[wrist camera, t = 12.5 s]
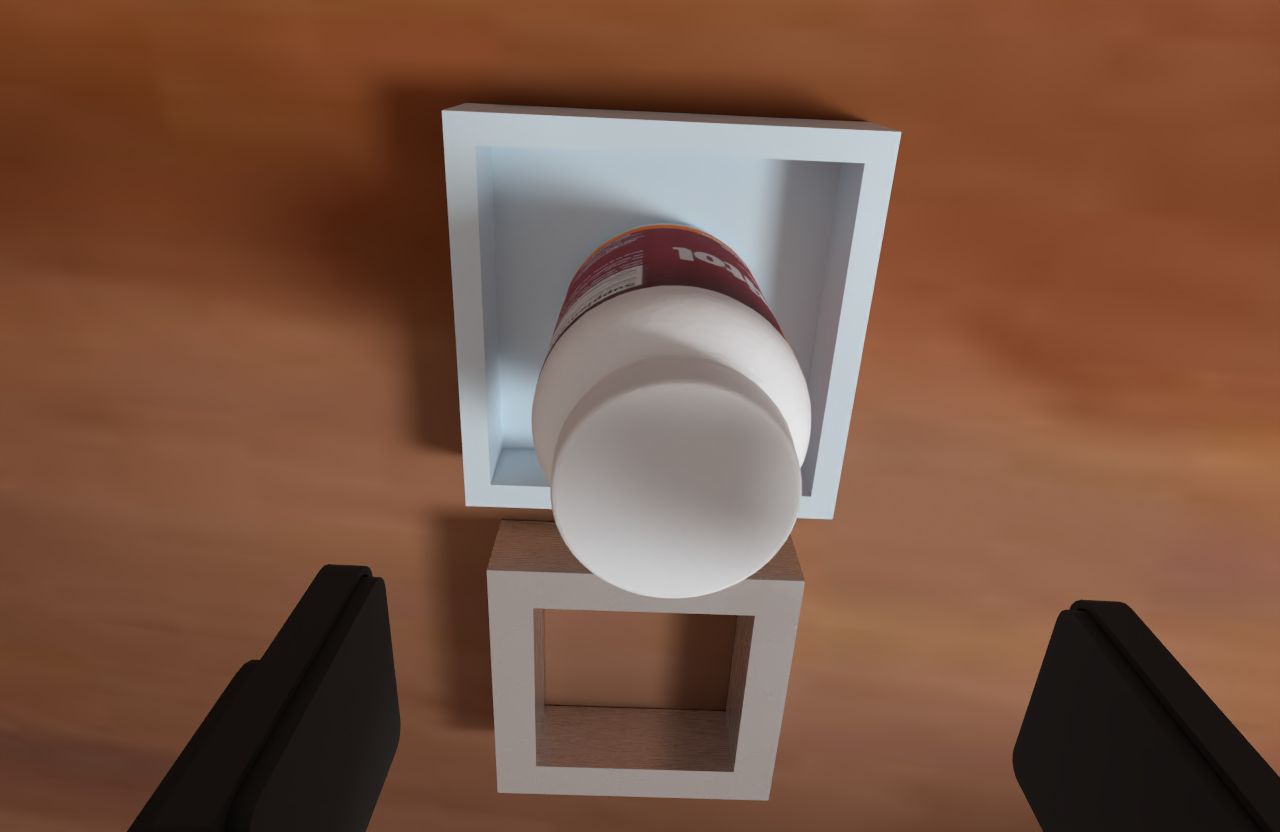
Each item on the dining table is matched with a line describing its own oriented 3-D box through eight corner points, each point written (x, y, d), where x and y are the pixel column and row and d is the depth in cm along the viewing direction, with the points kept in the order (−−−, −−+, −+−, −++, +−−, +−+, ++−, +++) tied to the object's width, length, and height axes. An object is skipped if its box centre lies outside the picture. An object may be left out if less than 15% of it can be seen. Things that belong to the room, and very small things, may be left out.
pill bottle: (800, 331, 24) (912, 524, 14) (647, 441, 26) (652, 683, 16) (679, 172, 22) (712, 268, 12) (521, 302, 24) (437, 480, 14)
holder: (757, 738, 33) (768, 800, 30) (509, 731, 33) (497, 792, 30) (789, 530, 28) (805, 581, 26) (501, 519, 28) (486, 570, 25)
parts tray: (813, 472, 27) (832, 519, 25) (483, 460, 27) (465, 505, 24) (869, 121, 22) (901, 131, 20) (465, 102, 22) (441, 109, 19)
